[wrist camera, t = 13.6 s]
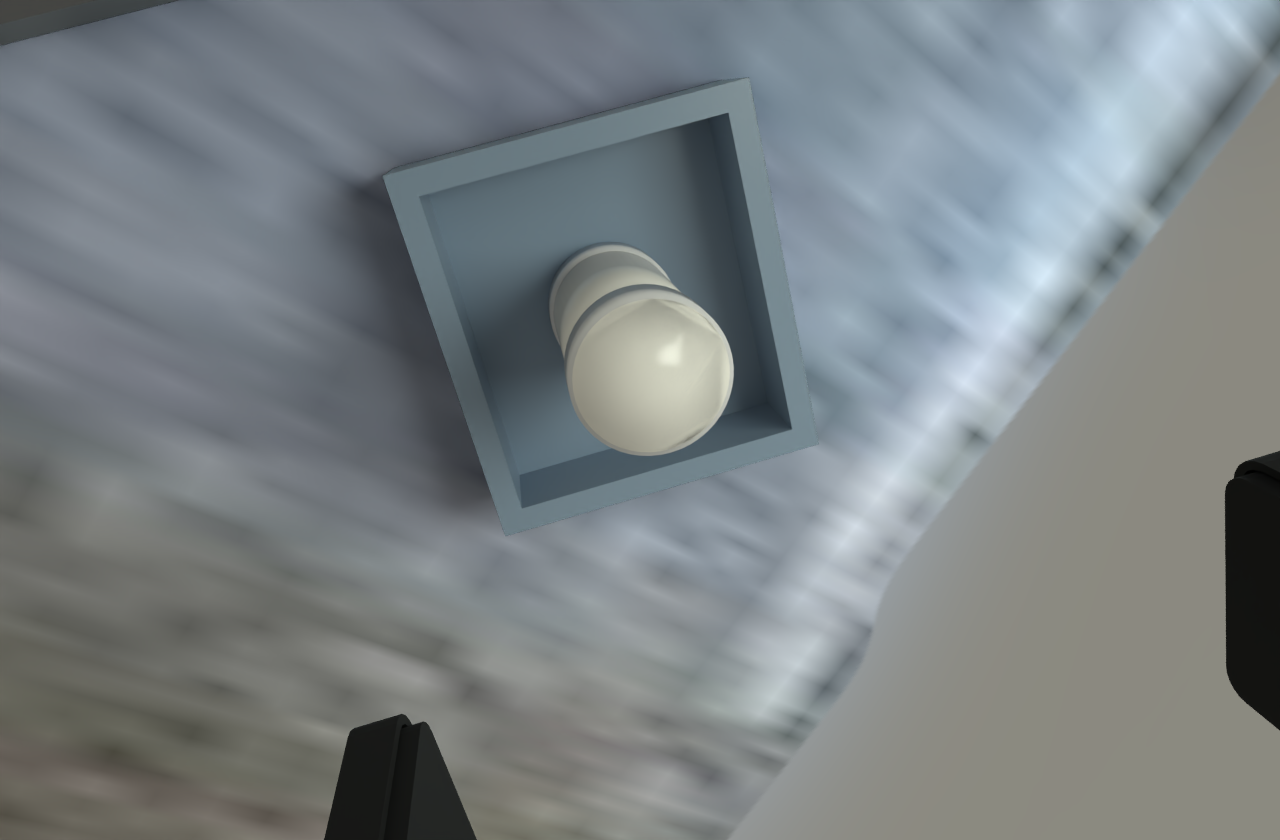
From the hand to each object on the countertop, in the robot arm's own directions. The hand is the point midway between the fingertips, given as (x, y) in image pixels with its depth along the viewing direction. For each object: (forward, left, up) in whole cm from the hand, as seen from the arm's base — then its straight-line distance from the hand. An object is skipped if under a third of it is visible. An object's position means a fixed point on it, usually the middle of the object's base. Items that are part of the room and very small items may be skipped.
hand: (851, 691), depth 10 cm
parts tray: (0, 0, -23) cm, 23 cm away
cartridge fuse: (0, 0, -22) cm, 22 cm away
